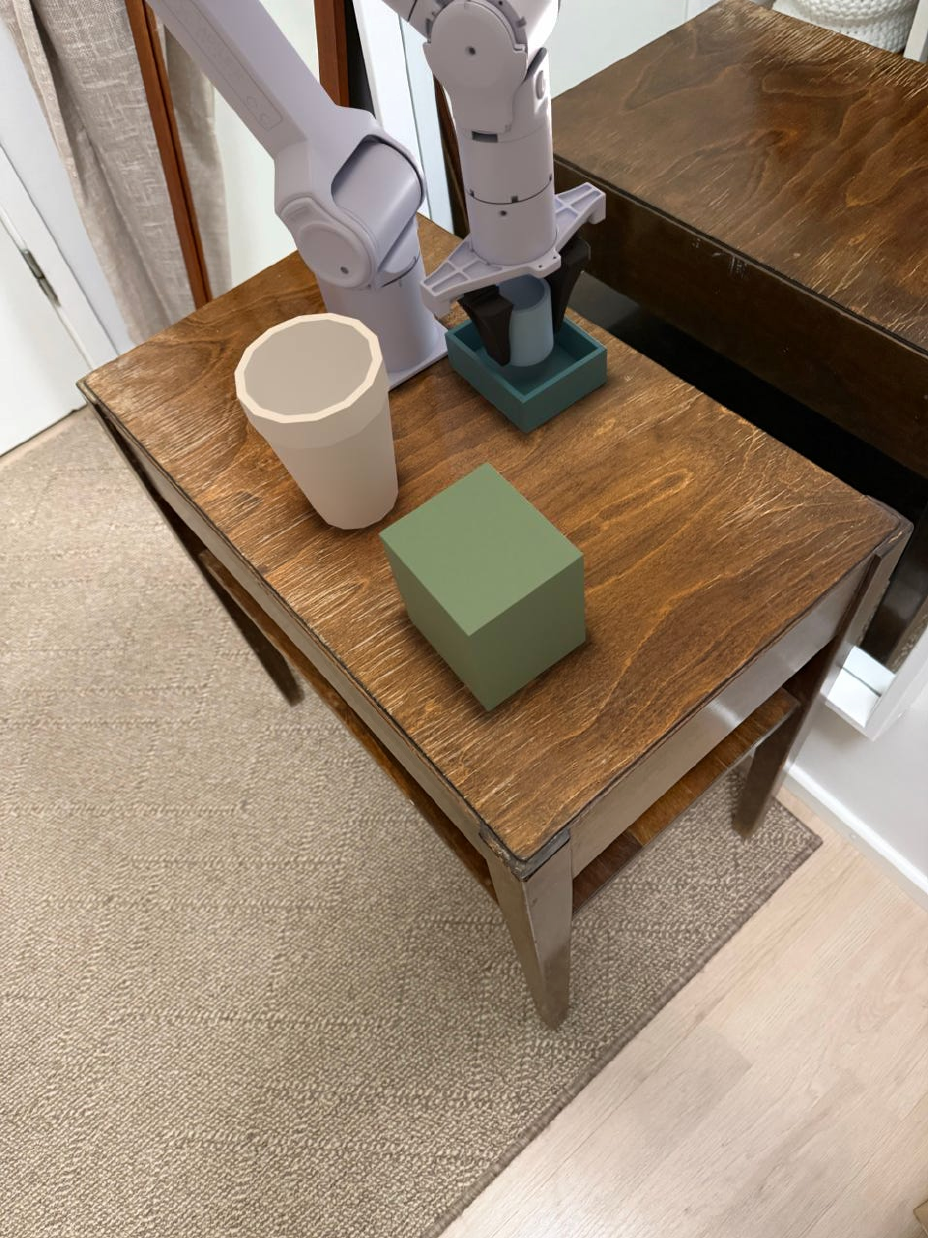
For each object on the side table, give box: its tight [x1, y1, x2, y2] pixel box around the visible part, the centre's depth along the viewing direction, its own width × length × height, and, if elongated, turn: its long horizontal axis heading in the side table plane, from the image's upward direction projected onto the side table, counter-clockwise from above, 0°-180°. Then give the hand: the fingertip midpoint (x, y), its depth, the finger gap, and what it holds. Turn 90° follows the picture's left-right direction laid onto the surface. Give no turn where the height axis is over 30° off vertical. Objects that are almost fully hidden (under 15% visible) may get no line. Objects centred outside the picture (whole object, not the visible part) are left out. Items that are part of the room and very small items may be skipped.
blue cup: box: [495, 274, 553, 366], centre depth 65 cm, size 4×4×5 cm
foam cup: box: [234, 312, 399, 530], centre depth 60 cm, size 10×9×13 cm
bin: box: [444, 314, 608, 435], centre depth 68 cm, size 10×8×3 cm
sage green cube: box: [378, 461, 587, 713], centre depth 54 cm, size 9×8×10 cm
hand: (523, 341), depth 67 cm, fingers closed on blue cup, 4 cm apart
